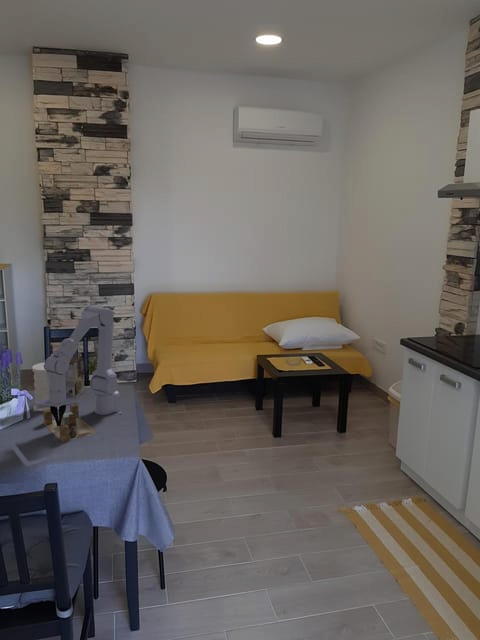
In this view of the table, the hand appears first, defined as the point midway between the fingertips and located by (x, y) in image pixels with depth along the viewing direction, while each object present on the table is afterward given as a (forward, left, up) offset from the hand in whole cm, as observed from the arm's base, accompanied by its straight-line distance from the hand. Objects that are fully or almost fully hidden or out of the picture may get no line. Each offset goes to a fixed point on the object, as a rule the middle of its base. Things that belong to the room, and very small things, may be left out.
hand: (58, 425), depth 179 cm
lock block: (-4, -3, -2) cm, 6 cm away
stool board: (-4, 0, -3) cm, 5 cm away
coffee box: (-19, -36, -4) cm, 41 cm away
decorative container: (-5, -26, -4) cm, 27 cm away
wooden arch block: (-4, +4, -2) cm, 6 cm away
